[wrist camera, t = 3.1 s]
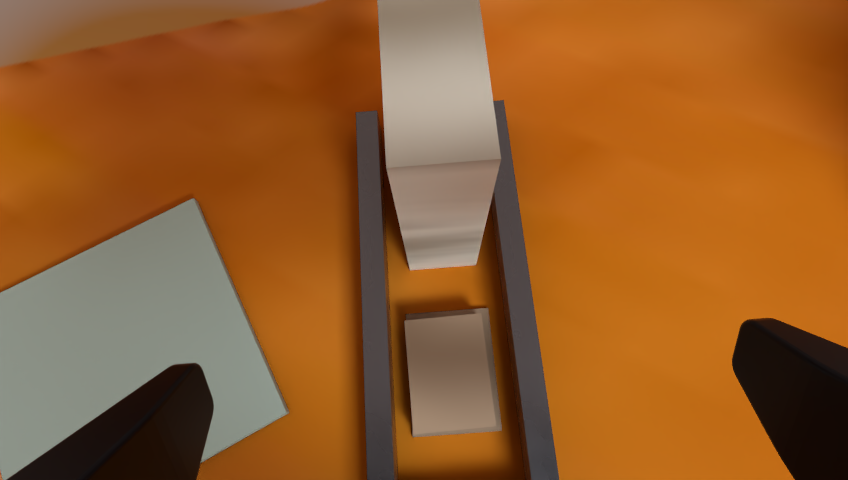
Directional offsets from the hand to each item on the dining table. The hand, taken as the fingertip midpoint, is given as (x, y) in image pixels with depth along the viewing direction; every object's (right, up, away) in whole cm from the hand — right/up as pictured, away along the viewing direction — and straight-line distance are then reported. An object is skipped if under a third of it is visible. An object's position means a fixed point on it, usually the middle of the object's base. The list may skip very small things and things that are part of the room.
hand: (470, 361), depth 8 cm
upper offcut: (0, -4, +12) cm, 13 cm away
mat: (-14, -3, +13) cm, 19 cm away
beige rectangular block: (0, +4, +15) cm, 16 cm away
